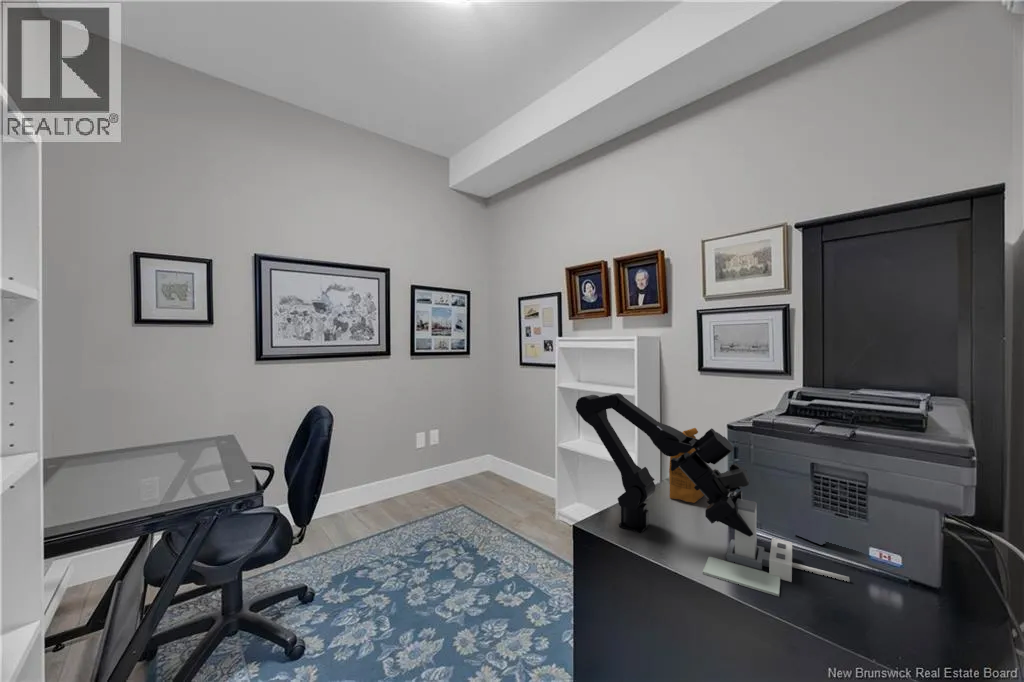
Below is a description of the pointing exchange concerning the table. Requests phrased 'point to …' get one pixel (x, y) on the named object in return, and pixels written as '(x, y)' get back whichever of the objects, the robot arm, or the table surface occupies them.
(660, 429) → the robot arm
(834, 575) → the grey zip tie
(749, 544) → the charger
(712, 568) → the sage mat
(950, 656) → the table surface
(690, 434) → the coffee package
